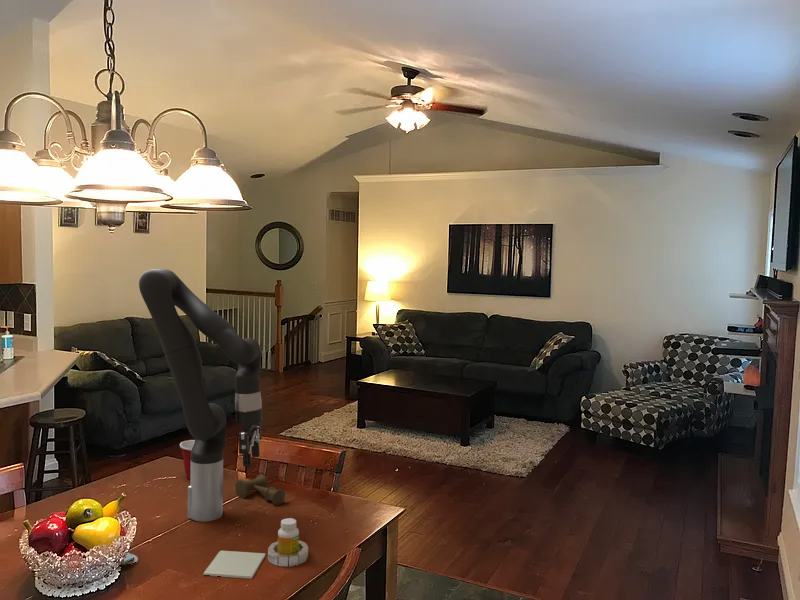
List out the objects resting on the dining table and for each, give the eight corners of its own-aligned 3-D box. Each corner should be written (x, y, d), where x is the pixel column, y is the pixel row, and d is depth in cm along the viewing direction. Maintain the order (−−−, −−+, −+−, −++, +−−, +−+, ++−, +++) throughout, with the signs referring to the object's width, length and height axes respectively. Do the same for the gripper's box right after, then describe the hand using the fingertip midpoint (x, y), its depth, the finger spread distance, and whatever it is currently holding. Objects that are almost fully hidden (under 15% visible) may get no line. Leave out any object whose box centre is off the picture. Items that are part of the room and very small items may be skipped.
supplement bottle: (294, 563, 167) (294, 526, 166) (274, 560, 168) (274, 524, 167) (301, 553, 172) (302, 518, 171) (282, 551, 173) (282, 515, 173)
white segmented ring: (263, 565, 166) (263, 555, 165) (274, 547, 175) (274, 538, 175) (302, 567, 165) (302, 558, 165) (310, 549, 175) (311, 540, 175)
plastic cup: (210, 482, 221) (211, 447, 220) (177, 483, 219) (177, 448, 218) (213, 471, 231) (213, 438, 230) (181, 472, 229) (181, 439, 228)
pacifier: (128, 554, 170) (105, 561, 165) (129, 530, 169) (106, 537, 165) (143, 563, 165) (120, 571, 160) (144, 539, 165) (121, 546, 160)
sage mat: (203, 575, 159) (203, 573, 159) (220, 552, 171) (220, 550, 171) (251, 578, 159) (251, 576, 159) (265, 555, 171) (265, 553, 171)
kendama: (267, 511, 200) (227, 492, 213) (291, 503, 208) (250, 485, 220) (268, 492, 200) (228, 474, 212) (292, 484, 207) (251, 468, 220)
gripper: (243, 401, 198) (246, 454, 199) (228, 413, 184) (231, 469, 185) (267, 401, 197) (270, 453, 199) (254, 413, 183) (257, 469, 185)
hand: (251, 461), depth 192 cm, fingers open, 8 cm apart
